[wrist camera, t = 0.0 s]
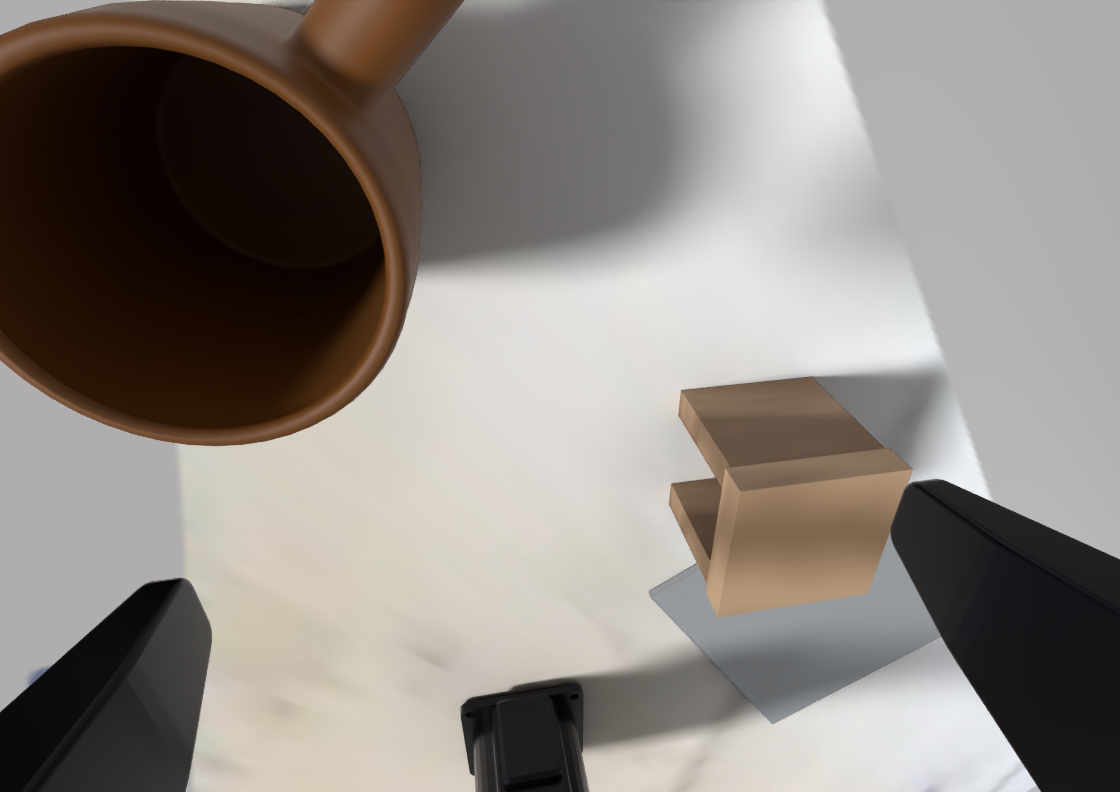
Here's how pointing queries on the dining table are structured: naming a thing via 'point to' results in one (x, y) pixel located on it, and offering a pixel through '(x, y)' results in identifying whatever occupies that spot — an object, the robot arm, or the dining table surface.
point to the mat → (803, 636)
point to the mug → (209, 210)
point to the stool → (784, 495)
